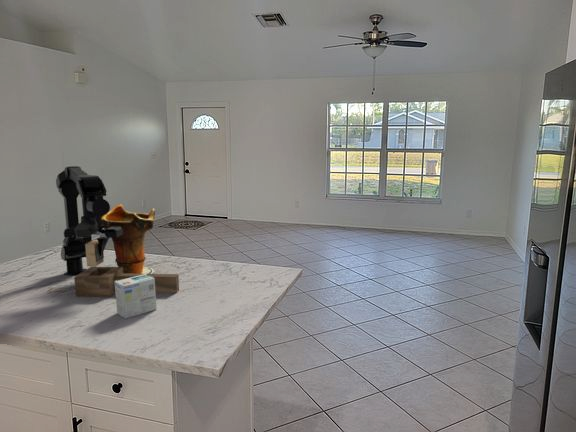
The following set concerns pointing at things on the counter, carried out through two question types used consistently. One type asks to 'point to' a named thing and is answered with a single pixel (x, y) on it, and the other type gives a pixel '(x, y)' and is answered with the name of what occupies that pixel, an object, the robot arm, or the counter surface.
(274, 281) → the counter surface
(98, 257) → the tan cardboard block
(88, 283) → the wooden block stand
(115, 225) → the decorative vase
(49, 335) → the counter surface
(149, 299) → the light bulb box
